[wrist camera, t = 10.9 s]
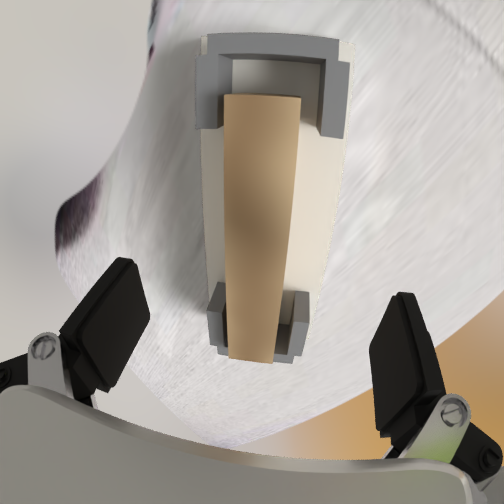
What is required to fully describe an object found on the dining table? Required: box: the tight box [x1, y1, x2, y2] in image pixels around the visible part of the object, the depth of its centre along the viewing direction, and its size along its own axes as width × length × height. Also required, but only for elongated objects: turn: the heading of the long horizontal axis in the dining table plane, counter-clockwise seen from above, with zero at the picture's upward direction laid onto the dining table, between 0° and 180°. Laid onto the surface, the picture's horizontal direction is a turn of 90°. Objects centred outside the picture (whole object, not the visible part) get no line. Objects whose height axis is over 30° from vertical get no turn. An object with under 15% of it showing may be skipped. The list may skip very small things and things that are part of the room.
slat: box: [224, 93, 301, 364], centre depth 16 cm, size 3×16×4 cm, turn 178°
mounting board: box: [195, 33, 355, 364], centre depth 16 cm, size 8×21×4 cm, turn 178°
